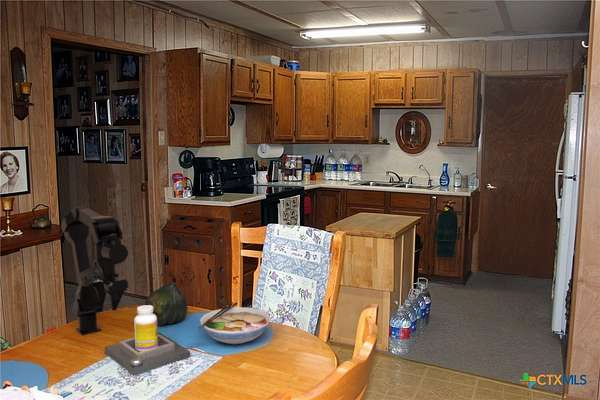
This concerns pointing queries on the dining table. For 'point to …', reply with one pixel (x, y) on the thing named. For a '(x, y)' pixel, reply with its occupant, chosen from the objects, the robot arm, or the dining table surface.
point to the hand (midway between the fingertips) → (107, 306)
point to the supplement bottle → (145, 328)
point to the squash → (168, 304)
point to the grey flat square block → (146, 354)
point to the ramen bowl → (235, 324)
